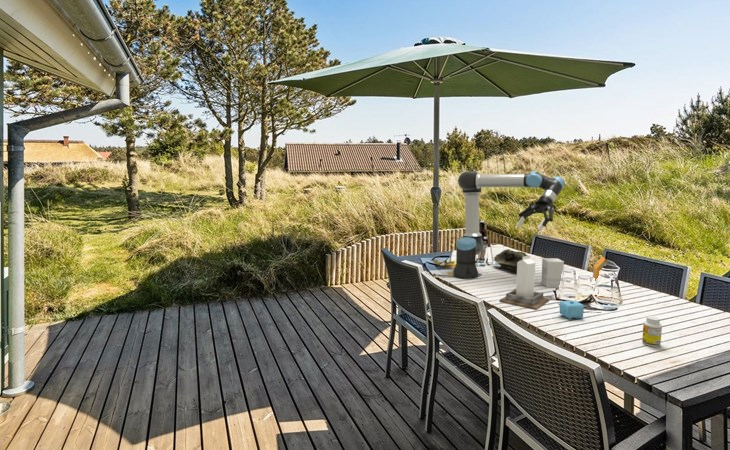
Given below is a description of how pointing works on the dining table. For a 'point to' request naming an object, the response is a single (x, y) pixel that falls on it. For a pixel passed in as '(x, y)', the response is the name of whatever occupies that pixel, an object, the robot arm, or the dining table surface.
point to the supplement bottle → (652, 331)
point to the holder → (525, 300)
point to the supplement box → (551, 271)
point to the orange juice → (599, 267)
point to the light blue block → (571, 309)
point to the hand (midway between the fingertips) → (528, 228)
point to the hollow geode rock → (509, 259)
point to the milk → (525, 277)
